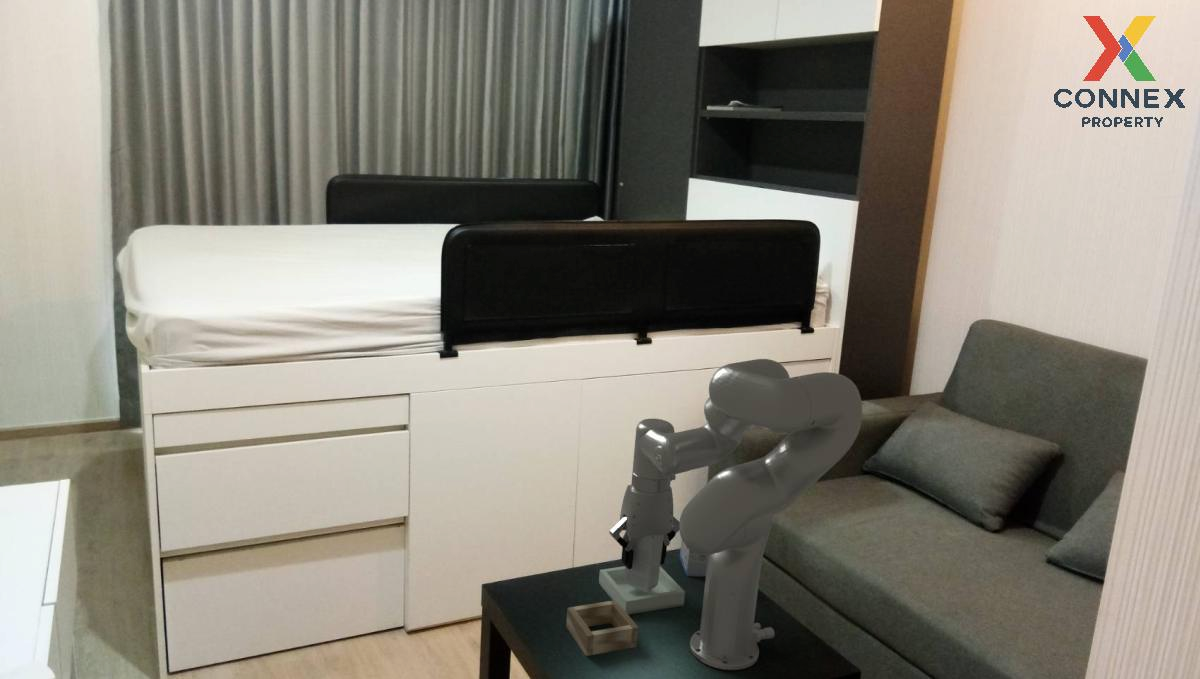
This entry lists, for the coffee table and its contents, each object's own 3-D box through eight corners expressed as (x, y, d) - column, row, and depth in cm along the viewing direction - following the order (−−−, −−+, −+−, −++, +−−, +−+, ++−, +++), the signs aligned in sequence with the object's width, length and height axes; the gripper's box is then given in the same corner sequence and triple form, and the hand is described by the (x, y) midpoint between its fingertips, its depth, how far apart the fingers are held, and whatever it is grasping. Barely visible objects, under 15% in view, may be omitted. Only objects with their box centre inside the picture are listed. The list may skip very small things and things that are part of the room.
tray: (654, 574, 195) (655, 561, 194) (683, 605, 183) (685, 591, 182) (598, 583, 189) (599, 569, 189) (624, 615, 178) (626, 601, 177)
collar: (614, 618, 176) (615, 599, 176) (636, 646, 168) (638, 627, 167) (566, 626, 173) (567, 607, 172) (586, 656, 164) (587, 636, 163)
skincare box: (658, 585, 186) (665, 532, 183) (647, 593, 183) (654, 540, 179) (633, 574, 189) (639, 522, 186) (622, 582, 186) (628, 529, 183)
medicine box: (679, 559, 202) (682, 523, 200) (698, 559, 203) (702, 523, 201) (686, 576, 195) (690, 539, 193) (706, 577, 195) (710, 539, 193)
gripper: (680, 470, 187) (672, 550, 191) (603, 478, 180) (596, 560, 185) (698, 484, 180) (689, 566, 185) (618, 493, 174) (611, 578, 178)
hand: (643, 563), depth 185 cm, fingers closed on skincare box, 6 cm apart
